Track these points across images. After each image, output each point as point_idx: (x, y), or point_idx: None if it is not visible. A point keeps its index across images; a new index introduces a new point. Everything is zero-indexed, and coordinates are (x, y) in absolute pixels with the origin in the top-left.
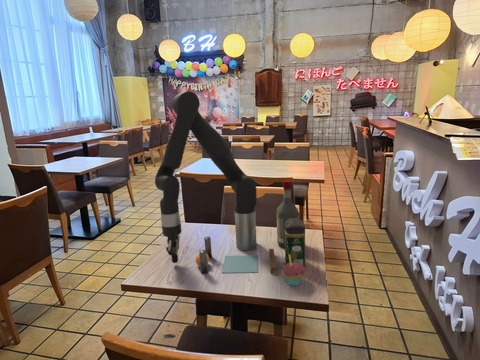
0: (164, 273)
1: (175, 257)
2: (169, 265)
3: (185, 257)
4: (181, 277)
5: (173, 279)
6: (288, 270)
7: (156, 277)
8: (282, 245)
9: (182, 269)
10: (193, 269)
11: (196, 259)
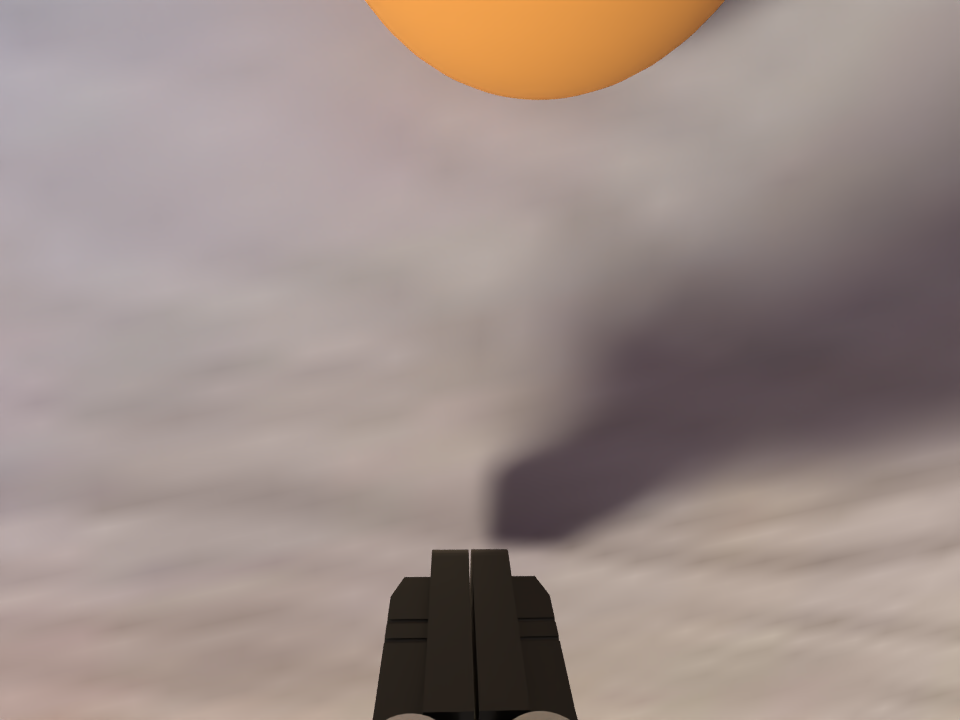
0: (722, 636)
1: (563, 671)
2: None
3: (145, 426)
4: (932, 347)
5: (953, 466)
6: None
7: (814, 706)
8: None
9: (640, 387)
10: (678, 157)
11: (678, 35)
